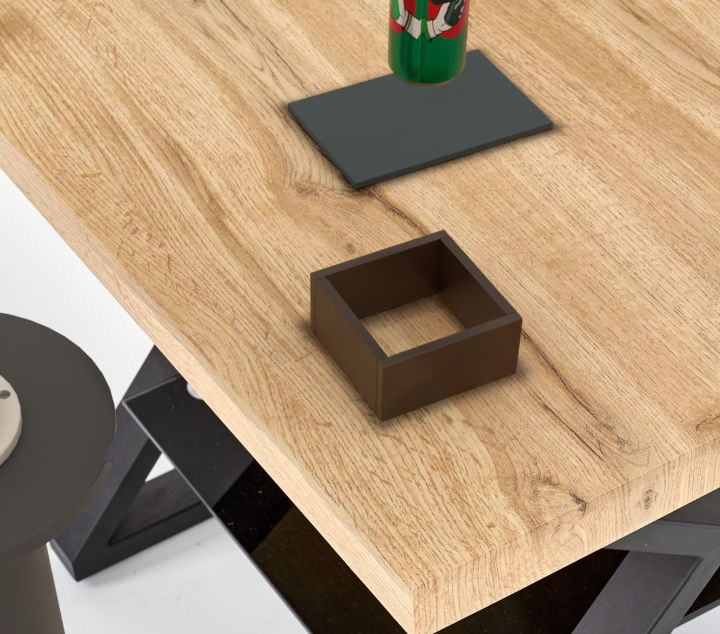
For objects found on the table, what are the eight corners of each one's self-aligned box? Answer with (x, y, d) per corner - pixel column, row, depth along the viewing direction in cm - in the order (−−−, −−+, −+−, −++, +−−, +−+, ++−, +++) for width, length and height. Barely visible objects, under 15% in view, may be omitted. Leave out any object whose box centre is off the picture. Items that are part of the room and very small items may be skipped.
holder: (381, 422, 105) (383, 367, 101) (310, 327, 111) (309, 272, 108) (516, 373, 109) (523, 317, 105) (440, 283, 115) (444, 228, 111)
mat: (355, 189, 122) (355, 183, 121) (287, 109, 129) (287, 103, 128) (552, 128, 127) (553, 122, 127) (477, 54, 134) (477, 48, 134)
